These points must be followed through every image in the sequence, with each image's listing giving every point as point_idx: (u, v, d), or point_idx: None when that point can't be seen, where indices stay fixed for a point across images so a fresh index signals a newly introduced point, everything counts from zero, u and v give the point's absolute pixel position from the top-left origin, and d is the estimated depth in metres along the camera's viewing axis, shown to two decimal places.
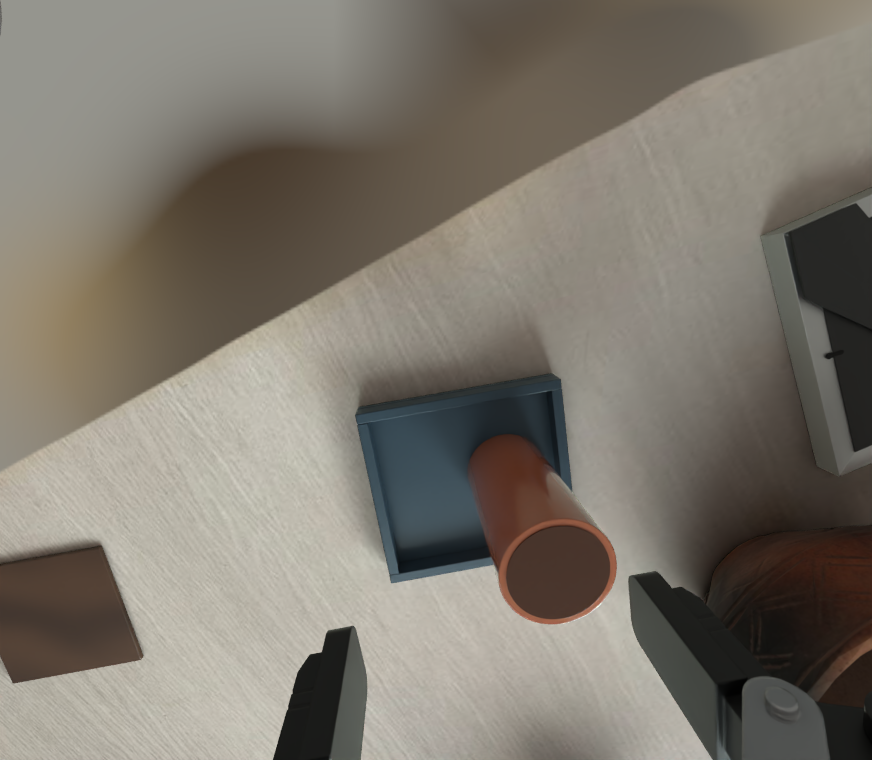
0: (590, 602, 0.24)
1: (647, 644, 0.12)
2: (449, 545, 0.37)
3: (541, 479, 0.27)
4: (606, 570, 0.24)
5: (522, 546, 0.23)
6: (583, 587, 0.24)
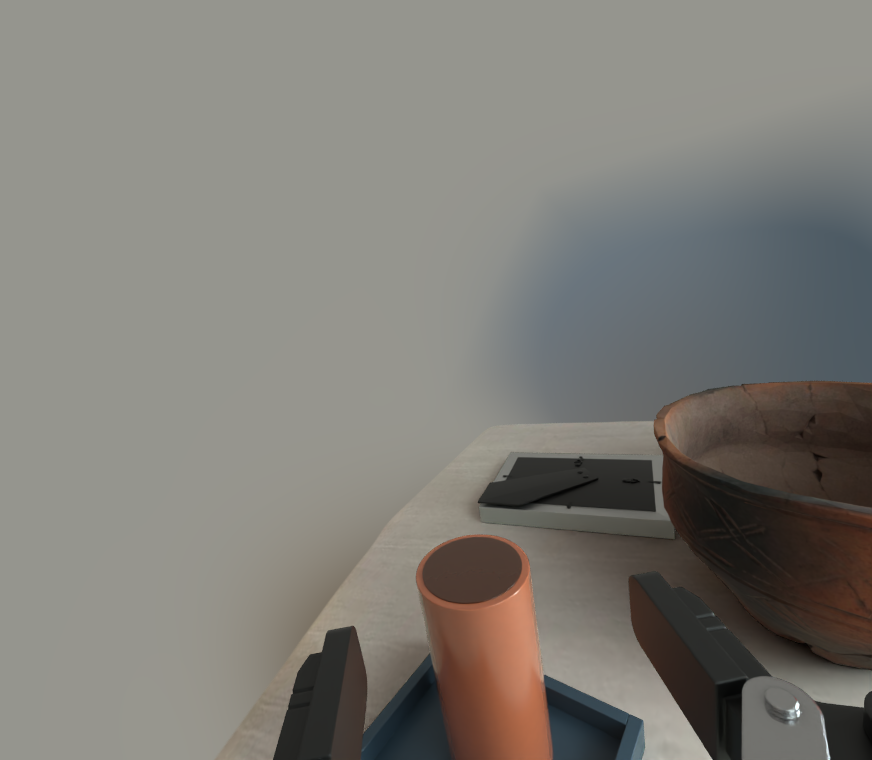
0: (518, 560, 0.25)
1: (647, 644, 0.12)
2: None
3: None
4: (499, 542, 0.27)
5: (424, 574, 0.25)
6: (501, 559, 0.25)
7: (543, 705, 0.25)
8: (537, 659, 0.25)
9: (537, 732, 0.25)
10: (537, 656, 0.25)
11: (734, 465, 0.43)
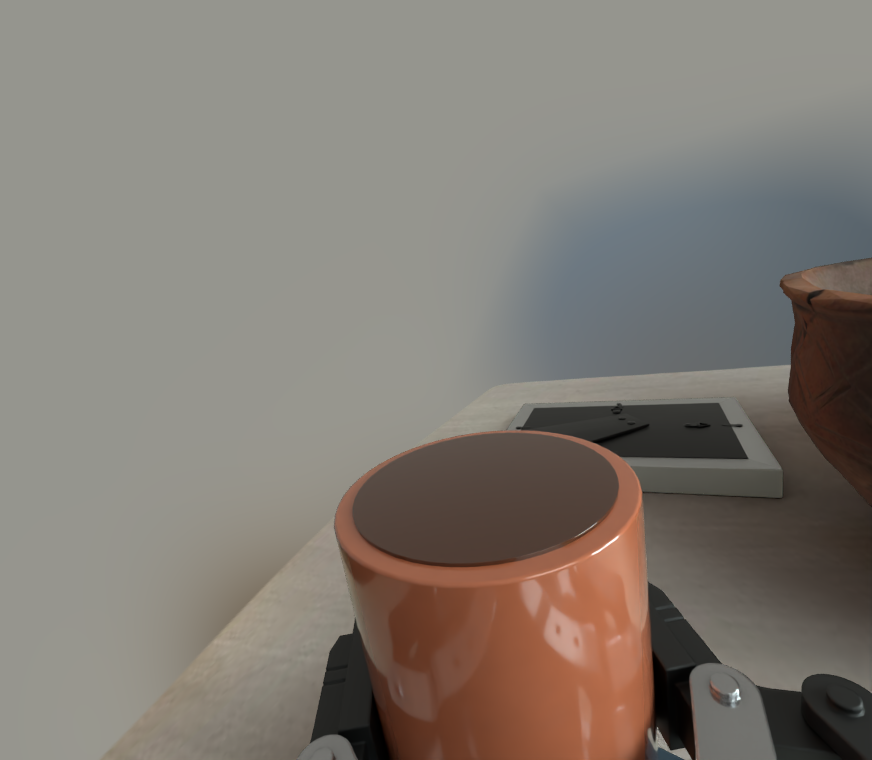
0: (601, 464, 0.10)
1: None
2: None
3: None
4: (543, 438, 0.11)
5: (360, 501, 0.10)
6: (555, 466, 0.10)
7: None
8: (655, 723, 0.09)
9: None
10: (655, 715, 0.09)
11: None
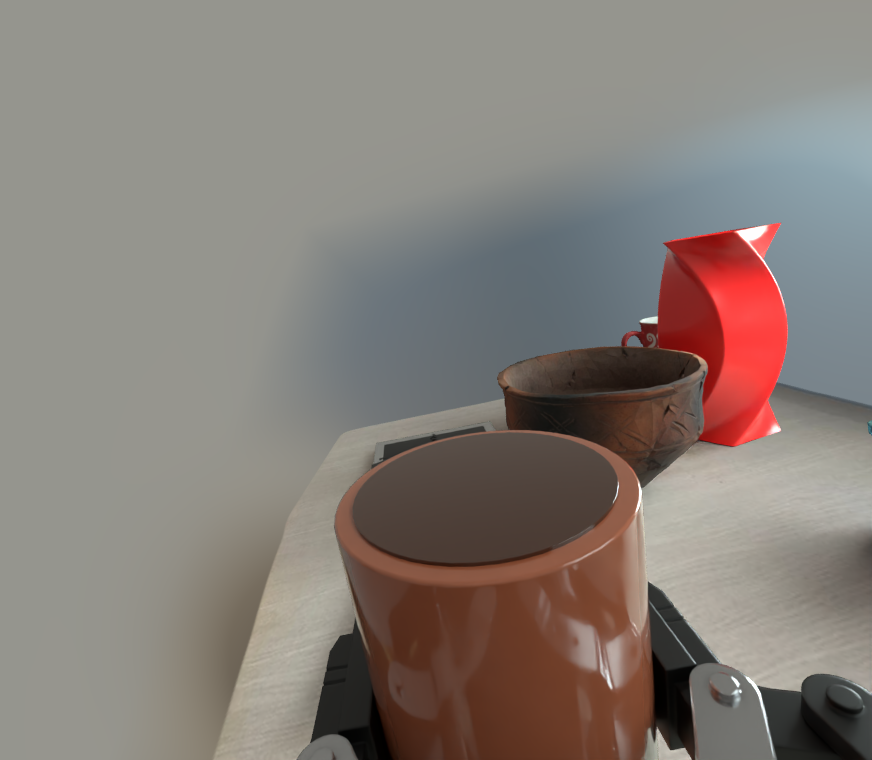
0: (600, 463, 0.10)
1: None
2: None
3: None
4: (543, 438, 0.11)
5: (359, 500, 0.10)
6: (554, 466, 0.10)
7: None
8: (654, 722, 0.09)
9: None
10: (654, 714, 0.09)
11: None
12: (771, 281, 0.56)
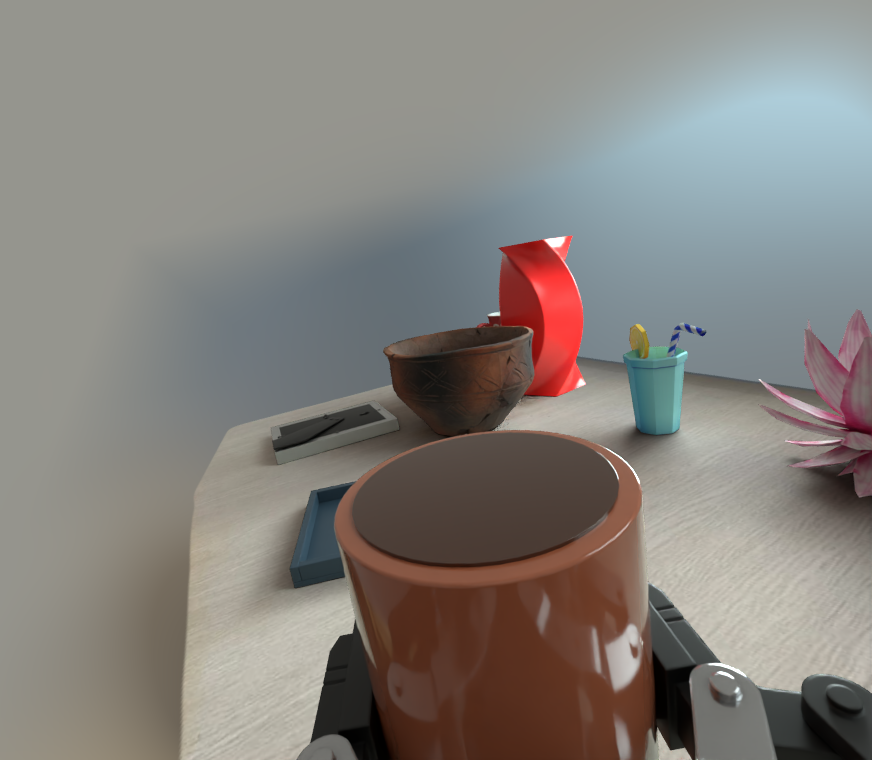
0: (601, 463, 0.10)
1: None
2: None
3: None
4: (543, 438, 0.11)
5: (359, 501, 0.10)
6: (554, 466, 0.10)
7: None
8: (655, 724, 0.09)
9: None
10: (655, 716, 0.09)
11: None
12: (569, 275, 0.80)
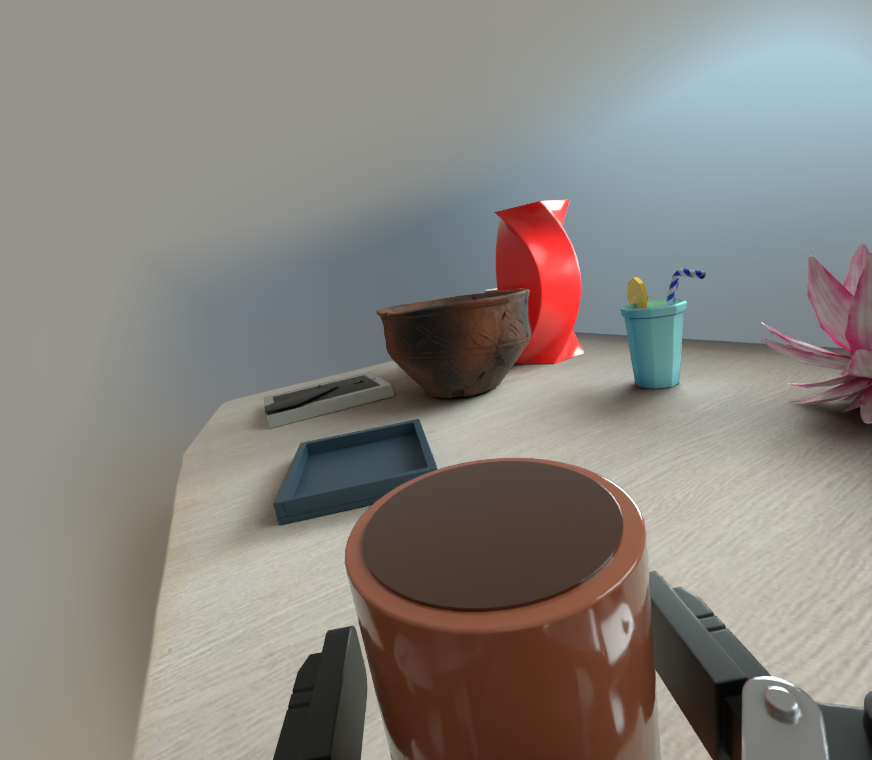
0: (605, 499, 0.10)
1: None
2: (418, 464, 0.45)
3: None
4: (548, 468, 0.12)
5: (369, 535, 0.10)
6: (560, 500, 0.10)
7: None
8: (659, 754, 0.09)
9: None
10: (659, 746, 0.09)
11: None
12: (567, 240, 0.78)
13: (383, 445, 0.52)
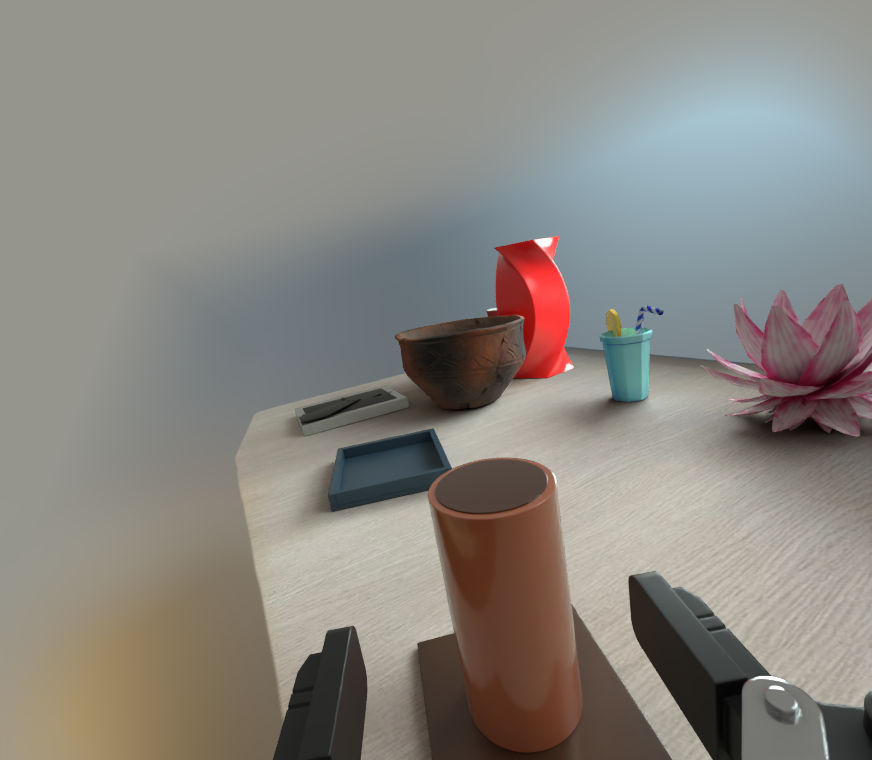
0: (542, 475, 0.22)
1: (647, 644, 0.12)
2: (435, 465, 0.58)
3: None
4: (520, 462, 0.24)
5: (437, 492, 0.22)
6: (523, 476, 0.22)
7: (572, 640, 0.22)
8: (566, 586, 0.22)
9: (567, 669, 0.22)
10: (565, 582, 0.22)
11: None
12: (557, 271, 0.91)
13: (405, 450, 0.65)
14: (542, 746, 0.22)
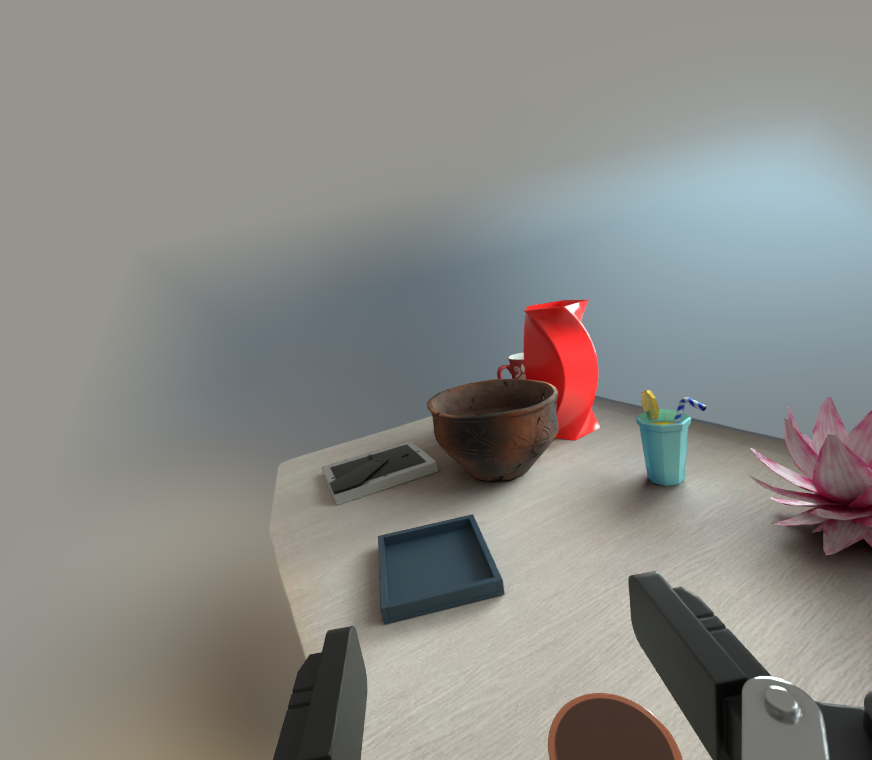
0: (665, 744, 0.22)
1: (647, 644, 0.12)
2: (481, 566, 0.58)
3: None
4: (633, 710, 0.24)
5: (561, 758, 0.22)
6: (644, 740, 0.23)
7: None
8: None
9: None
10: None
11: None
12: (586, 335, 0.91)
13: (446, 540, 0.65)
14: None
